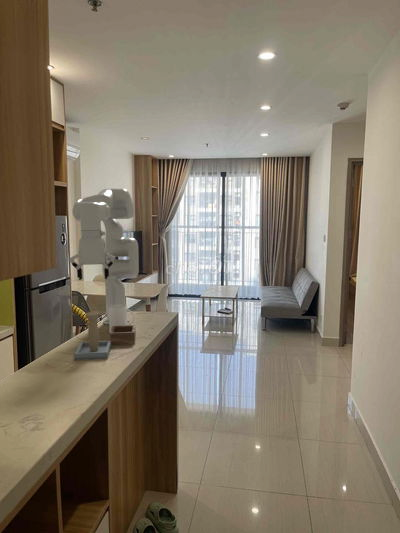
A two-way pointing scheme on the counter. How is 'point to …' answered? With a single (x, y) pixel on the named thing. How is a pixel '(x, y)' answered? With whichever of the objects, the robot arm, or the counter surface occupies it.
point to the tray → (86, 354)
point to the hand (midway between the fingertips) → (93, 278)
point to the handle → (93, 330)
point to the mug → (118, 316)
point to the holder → (123, 335)
